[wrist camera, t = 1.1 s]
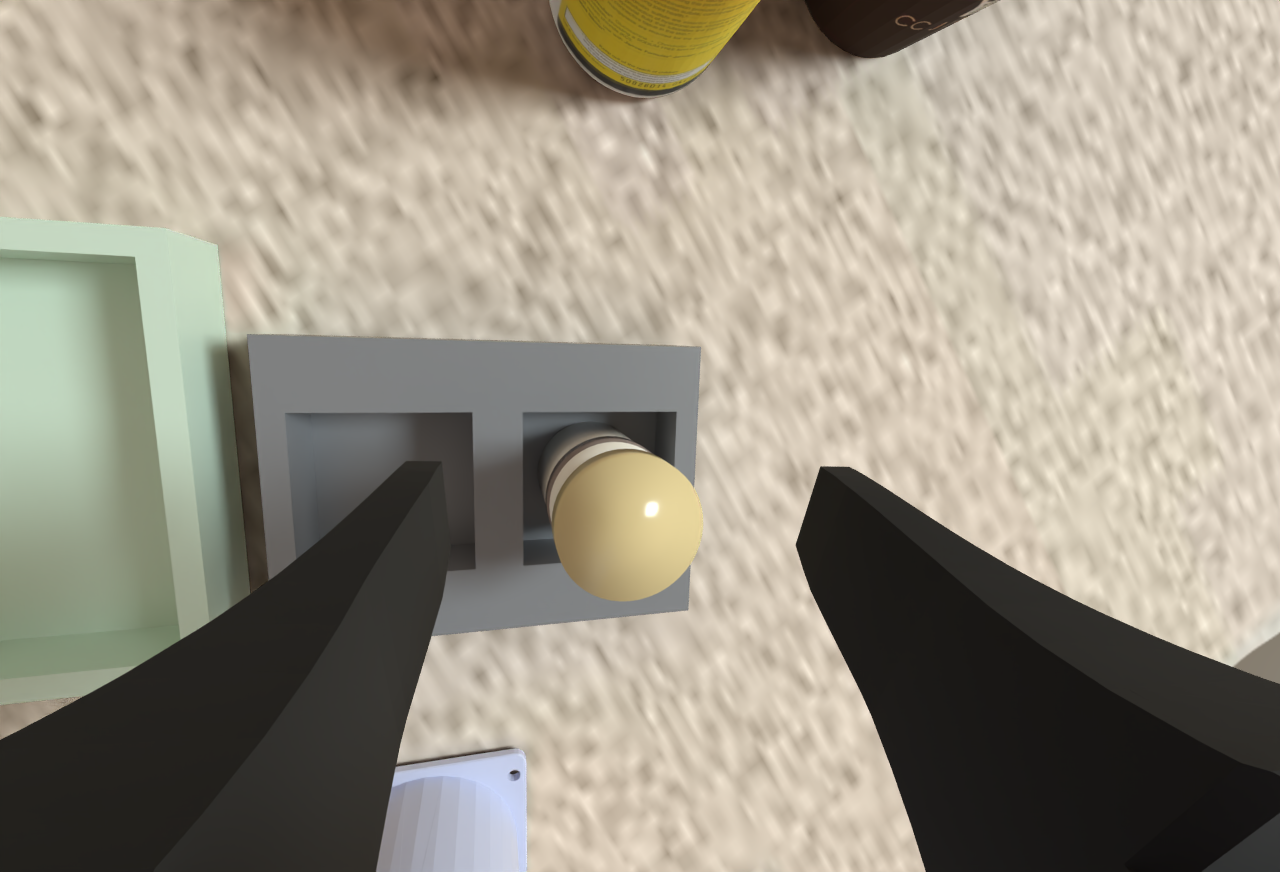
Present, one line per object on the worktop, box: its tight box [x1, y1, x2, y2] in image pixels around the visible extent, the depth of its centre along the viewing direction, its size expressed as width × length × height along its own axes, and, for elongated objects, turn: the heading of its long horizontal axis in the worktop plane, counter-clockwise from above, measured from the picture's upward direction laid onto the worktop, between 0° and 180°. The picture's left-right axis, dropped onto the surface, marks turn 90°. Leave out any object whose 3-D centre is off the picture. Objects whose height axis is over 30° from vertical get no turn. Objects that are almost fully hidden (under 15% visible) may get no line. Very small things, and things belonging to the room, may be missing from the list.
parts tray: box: [0, 217, 251, 705], centre depth 16 cm, size 14×11×3 cm
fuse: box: [538, 421, 703, 601], centre depth 19 cm, size 4×4×7 cm
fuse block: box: [247, 334, 701, 636], centre depth 20 cm, size 10×14×3 cm
